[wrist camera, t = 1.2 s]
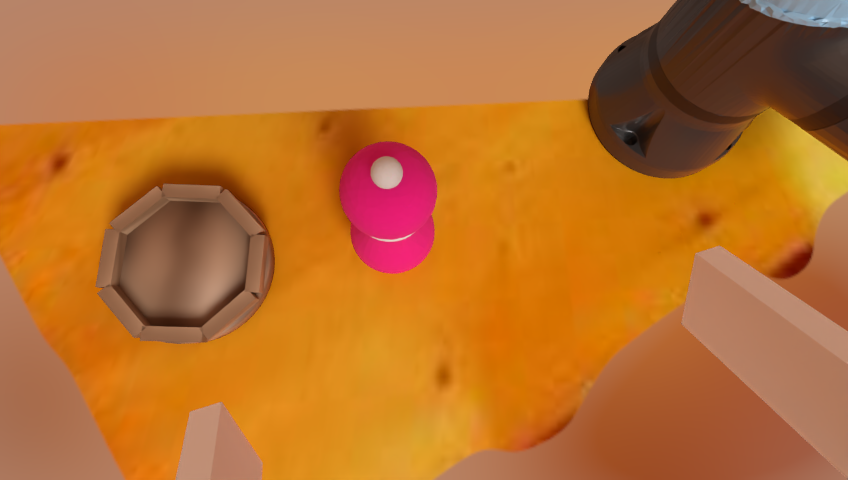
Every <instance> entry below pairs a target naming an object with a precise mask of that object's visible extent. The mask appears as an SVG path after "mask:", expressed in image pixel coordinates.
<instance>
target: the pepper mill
mask: <svg viewBox="0 0 848 480" xmlns="http://www.w3.org/2000/svg"><path fill="white" fill-rule="evenodd" d="M339 193H340V200H341V204H342V207H343V210H344V212H345V214H346V215H347V217H348V219H349V220H350V221H351V239H352V244H353V247H354V249H355V251H356V253H357V255H358V256H359V257H360V259H361V260H362V261H363V262H364V263H365V264H367V265H368V266H369V267H371V268H373V269H375V270H377V271H380V272H384V273H401V272H405V271H408V270H410V269H412V268H414V267H416V266H417V265H418V264H420V263H421V262H422V261H423V260H424V259H425V258H426V256H427V255H428V253H429V251H430V250H431V247H432V245H433V241H434V223H433V218H432V215H431V214H432V212H433V210H434V207H435V203H436V198H437V183H436V179H435V175H434V172H433V171H432V169H431V167H430V165H429V163H428V162H427V160H426V159H425V158H424V157H423V156H422V155H421V154H420V153H419V152H417V151H416V150H414V149H413V148H411V147H409V146H406V145H404V144H401V143H397V142H378V143H375V144H372V145H368V146H366V147H365V148H363V149H361V150H360V151H359V152H357V153H356V154H355V155H354V156H353V157H352V158H351V159H350V161H349V162H348V163H347V165H346V166H345V169H344V171H343V173H342V176H341V180H340V188H339Z"/></svg>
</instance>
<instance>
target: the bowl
mask: <svg viewBox="0 0 848 480" xmlns="http://www.w3.org/2000/svg"><path fill="white" fill-rule="evenodd" d="M110 225H111V226H112V227H113V228H114V229H105V235H104V241H103V246H102V252H101V258H100V264H99V270H98V275H97V281H96V287H99V288H103V289H102V290H101V291H100V292H98V293H97V294H98V295H99V296H100V297H101V299H102V300H103V301H104V302H105V303H106V305H107V306H108V307H109V308H110V310H111V311H112V312H113V313H114V314H115V316H116V317H117V318H118V319H119V320H120V322H121V323H122V324H123V325H124V326H125V328H126V329H127V330H128V331H129V333H130V334H131V335H132V336H133V337H134V338H140V341H162V342H166V343H176V344H181V343H200V342H208V341H211V340H214V339H217V338H220V337H222V336H225V335H227V334H229V333H231V332H232V331H234V330H236V329H237V328H239V327H240V326H241V325H243V324H244V323H245V322H247V321H248V320H249V319H250V318H251V317H252V316H253V315H254V314H255V312H256V311H257V310H258V308H259V307H260V306H261V304H262V303H263V301H264V299H265V298H266V296H267V293H268V291H269V289H270V286H271V283H272V279H273V274H274V265H275V257H274V249H273V245H272V241H271V238H270V235H269V233H268V231H267V229H266V227H265V226H264V224H263V222H262V221H261V220H260V219H259V217H258V216H257V215H256V214H255V213H254V212H253V211H252V210H251V209H249V208H248V207H247V206H246V205H244V204H243V203H242V202H240V201H239V200H238V199H237V198H236V197H235V196H234V195H233V194H232V193H231V192H230V191H229V190H227V189H224V188H223V187H221V186H209V185H184V184H163V189H161V188H160V187H158V186H156V187H155V188H153V189H152V190H151V191H150V192H148V193H147V194H146V195H144V196H143V197H142V198H141V199H139V200H138V201H137V202H136V203H134V204H133V205H132V206H130V207H129V208H128V209H127V210H125V211H124V212H123V213H122V214H120V215H119V216H118V217H116V218H115V219H114V220H113V221H111V222H110Z"/></svg>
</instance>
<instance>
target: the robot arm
mask: <svg viewBox="0 0 848 480" xmlns="http://www.w3.org/2000/svg"><path fill="white" fill-rule="evenodd" d="M588 107H589V115H590V119H591V123H592V126H593V128H594V130H595V132H596V134H597V136H598V138H599V140H600V141H601V143H602V144H603V145H604V147H605V148H606V149H607V150H608V151H609V152H610V153H611V154H612V155H613V156H614V157H615V158H616V159H617V160H618V161H620V162H621V163H623V164H624V165H626V166H627V167H629V168H631V169H633V170H635V171H637V172H639V173H642V174H645V175H648V176H653V177H659V178H679V177H684V176H688V175H691V174H694V173H697V172H699V171H701V170H703V169H704V168H706V167H708V166H710V165H712V164H713V163H715V162H717V161H718V160H720V159H721V158H722V157H723V156H725V155H726V154H727V153H728V152H729V151H730V150H731V149H732V147H733V146H734V145H735V144H736V142H737V141H738V139H739V138H740V136H741V134H742V132H743V130H745V129H746V128H747V127H748V126H749V125H750V123H751V122H752V121H753V120H754V118H755V117H756V116H757V115H758V114H760V113H762V112H763V111H765V110H766V109H768V108H770V107H771V108H773V109H774V110H776V111H777V112H779V113H780V114H782V115H783V116H784V117H786V118H788V119H789V120H791V121H792V122H794V123H795V124H796V125H798V126H799V127H801V128H802V129H803V130H805V131H806V132H807V133H809V134H810V135H812V136H813V137H814V138H816V139H817V140H819V141H820V142H821V143H823V144H824V145H826V146H827V147H829V148H830V149H831V150H833V151H834V152H836V153H837V154H838V155H840V156H841V157H843V158H844V159H846V160H847V161H848V0H677V1H676V2H675V3H674V5H673V6H672V7H671V8H670V9H669V10H668V12H667V13H666V14H665V15H664V17H663V18H662V19H661V20H660V21H659V22H658V23H656V24H655V25H653V26H651V27H649V28H648V29H646V30H644V31H642V32H641V33H639V34H638V35H636V36H634V37H632V38H630V39H629V40H627V41H625V42H624V43H622V44H621V45H620V46H618V47H617V48H616V49H615V50H614V51H613V52H612V53H611V54H610V55H609V56H608V57H607V59H606V60H605V61H604V63H603V64H602V65H601V67H600V68H599V69H598V71H597V73H596V74H595V76H594V78H593V81H592V83H591V87H590V91H589V98H588ZM681 324H682V325H683V326H684V327H685V328H686V329H687V330H689V331H690V332H691V333H692V334H693V335H694V336H695V337H696V338H697V339H698V340H699V341H700V342H701V343H702V344H703V345H704V346H706V347H707V348H708V349H709V350H710V351H711V352H712V353H713V354H714V355H715V356H716V357H717V358H718V359H719V360H721V361H722V362H723V363H724V364H725V365H726V366H727V367H728V368H729V369H730V370H731V371H732V372H733V373H734V374H736V375H737V376H738V377H739V378H740V379H741V380H742V381H743V382H744V383H745V384H746V385H747V386H748V387H749V388H750V389H752V390H753V391H754V392H755V393H756V394H757V395H758V396H759V397H760V398H761V399H763V401H764V402H766V404H768V405H769V406H770V407H771V408H772V409H773V410H774V411H775V412H776V413H777V414H778V415H779V416H780V417H782V418H783V419H784V420H785V421H786V422H787V423H788V424H789V425H790V426H791V427H792V428H793V429H794V430H795V431H796V432H798V433H799V434H800V435H801V436H802V437H803V438H804V439H805V440H806V441H807V442H808V443H809V444H810V445H811V446H812V447H814V448H815V449H816V450H817V451H818V452H819V453H820V454H821V455H822V456H823V457H824V458H825V459H826V460H828V461H829V462H830V463H831V464H832V465H833V466H834V467H835V468H836V469H837V470H838V471H839V472H840V473H842V475H843V476H845V477H846V478H847V479H848V331H846V330H845V329H843V328H841V327H840V326H839V325H837V324H836V323H834V322H833V321H831V320H830V319H828V318H827V317H825V316H824V315H822V314H821V313H819V312H818V311H816V310H815V309H813V308H812V307H810V306H809V305H807V304H806V303H804V302H803V301H802V300H800V299H798V298H797V297H796V296H794V295H792V294H791V293H790V292H788V291H787V290H785V289H784V288H782V287H781V286H779V285H778V284H776V283H775V282H773V281H772V280H770V279H769V278H767V277H766V276H764V275H763V274H761V273H760V272H758V271H757V270H755V269H754V268H752V267H751V266H749V265H748V264H746V263H745V262H743V261H742V260H740V259H739V258H737V257H736V256H734V255H733V254H732V253H730V252H729V251H727V250H726V249H724V248H723V247H721V246H717V247H714V248H711V249H708V250H705V251H701V252H698V253H696V254H695V259H694V264H693V269H692V274H691V279H690V284H689V288H688V293H687V298H686V303H685V308H684V313H683V318H682V323H681ZM176 480H262V461H261V460H260V458H259V457H258V455H257V454H256V452H255V451H254V449H253V448H252V446H251V445H250V443H249V442H248V440H247V439H246V437H245V436H244V435H243V433H242V432H241V430H240V429H239V427H238V426H237V424H236V423H235V421H234V420H233V418H232V417H231V415H230V414H229V412H228V411H227V409H226V408H225V406H224V405H223V403H222V402H220V403H216V404H213V405H210V406H207V407H204V408H200V409H197V410H194V411H191V412H190V414H189V419H188V424H187V428H186V433H185V438H184V443H183V447H182V452H181V457H180V461H179V466H178V471H177V476H176Z"/></svg>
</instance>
